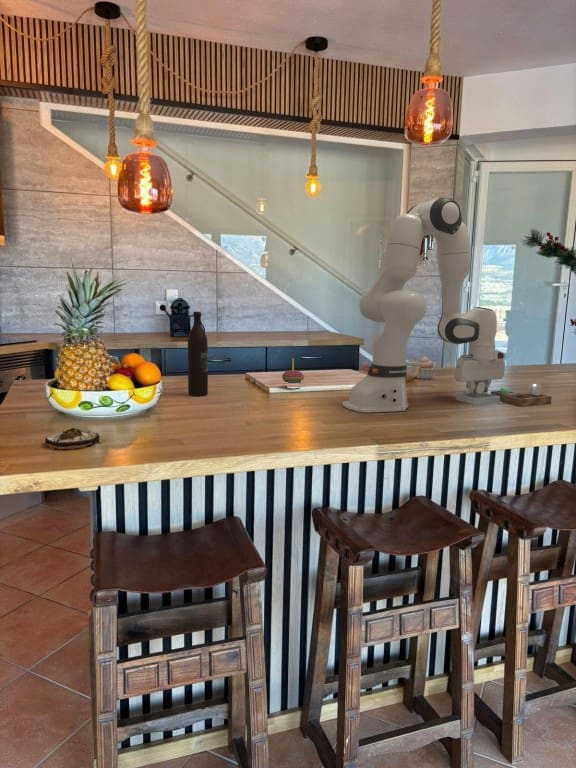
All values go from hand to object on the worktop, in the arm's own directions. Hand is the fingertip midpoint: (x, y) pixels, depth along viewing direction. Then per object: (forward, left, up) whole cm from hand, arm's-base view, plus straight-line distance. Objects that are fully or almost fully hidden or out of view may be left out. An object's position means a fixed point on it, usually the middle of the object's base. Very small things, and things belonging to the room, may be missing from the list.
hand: (478, 392), depth 200 cm
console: (+12, -1, -3) cm, 13 cm away
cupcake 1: (-49, +48, -4) cm, 69 cm away
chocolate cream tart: (-135, -1, -4) cm, 135 cm away
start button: (+12, -1, -2) cm, 12 cm away
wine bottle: (-88, +48, -4) cm, 100 cm away
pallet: (+14, -9, -3) cm, 17 cm away
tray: (0, 0, -3) cm, 3 cm away
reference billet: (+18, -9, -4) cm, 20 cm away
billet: (0, 0, -3) cm, 3 cm away
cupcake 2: (+15, +48, -4) cm, 50 cm away
